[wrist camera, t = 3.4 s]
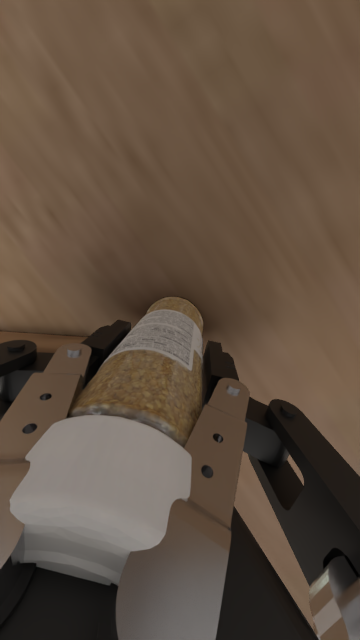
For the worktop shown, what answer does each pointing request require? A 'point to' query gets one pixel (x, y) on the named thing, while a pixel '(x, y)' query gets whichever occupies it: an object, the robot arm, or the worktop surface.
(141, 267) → the worktop surface
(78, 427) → the sprinkles bottle
